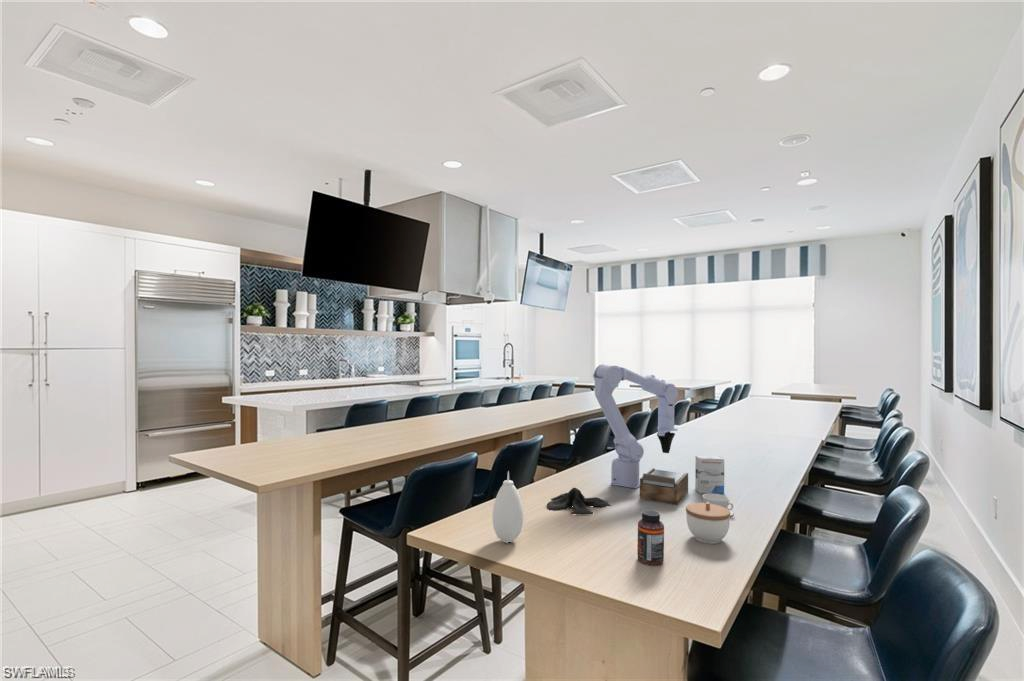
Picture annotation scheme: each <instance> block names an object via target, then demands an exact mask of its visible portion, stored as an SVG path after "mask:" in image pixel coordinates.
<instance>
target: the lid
mask: <svg viewBox="0 0 1024 681" xmlns="http://www.w3.org/2000/svg"><path fill="white" fill-rule="evenodd" d="M684 474H685V473H683V472H676V471H670V470H660V469H655V471H653V472H652V473H651V474H646V473H643V474H642V477H643V483H647V484H654V485H660V486H667V487H675V483H676V482H677V481H678V480H679V479H680V478H681V477H682V476H683V475H684Z"/></svg>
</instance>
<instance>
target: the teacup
mask: <svg viewBox="0 0 1024 681" xmlns="http://www.w3.org/2000/svg"><path fill="white" fill-rule="evenodd" d="M706 502H708V503H710V504H715V505H719V506H722V507H724V508H726V509H728V510H729V511H730V517H732V516H733V515H734V514H735V512H734V511H732V510H733V509H734V503H732V502H730V498H729V497H728V496H726V495H724V494H720V493H703V495H702V503H706ZM729 505H730V506H731V508H729Z"/></svg>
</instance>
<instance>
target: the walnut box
mask: <svg viewBox="0 0 1024 681" xmlns="http://www.w3.org/2000/svg"><path fill="white" fill-rule="evenodd" d="M655 470H656V468H652V469H650V470H649V471H648V472H646V473H645V474H651V473H652V472H653V471H655ZM639 482H640V486H639V498H640V500H644V499H645V501H651V502H657V503H663V504H670V505H675V506H678V505H679V504H680V503H681V501H682V500H683V499H684V498H685V497H686V495H688V493H689V473H688V472H686V473H685V474H684V475H683V476H682V477H681V478H680V479H679V480H678V481H677V482H676V483H675V487H667V486H660V485H654V484H647V483H643V476H641V477H639ZM639 498H638V499H639Z"/></svg>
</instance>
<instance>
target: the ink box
mask: <svg viewBox="0 0 1024 681" xmlns="http://www.w3.org/2000/svg"><path fill="white" fill-rule="evenodd" d="M694 462H695V463H694V464H695V471H694V472H695V474H694V475H695V481H694V483H695V484H694V486H695V487H694V489H695V490H696V491H697V493H699V494H710V493H711V494H720V493H722V494H721V495H724V494H725V458H722V457H721V456H715V455H714V456H713V455H711V456H709V455H696V456H695V461H694Z"/></svg>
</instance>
